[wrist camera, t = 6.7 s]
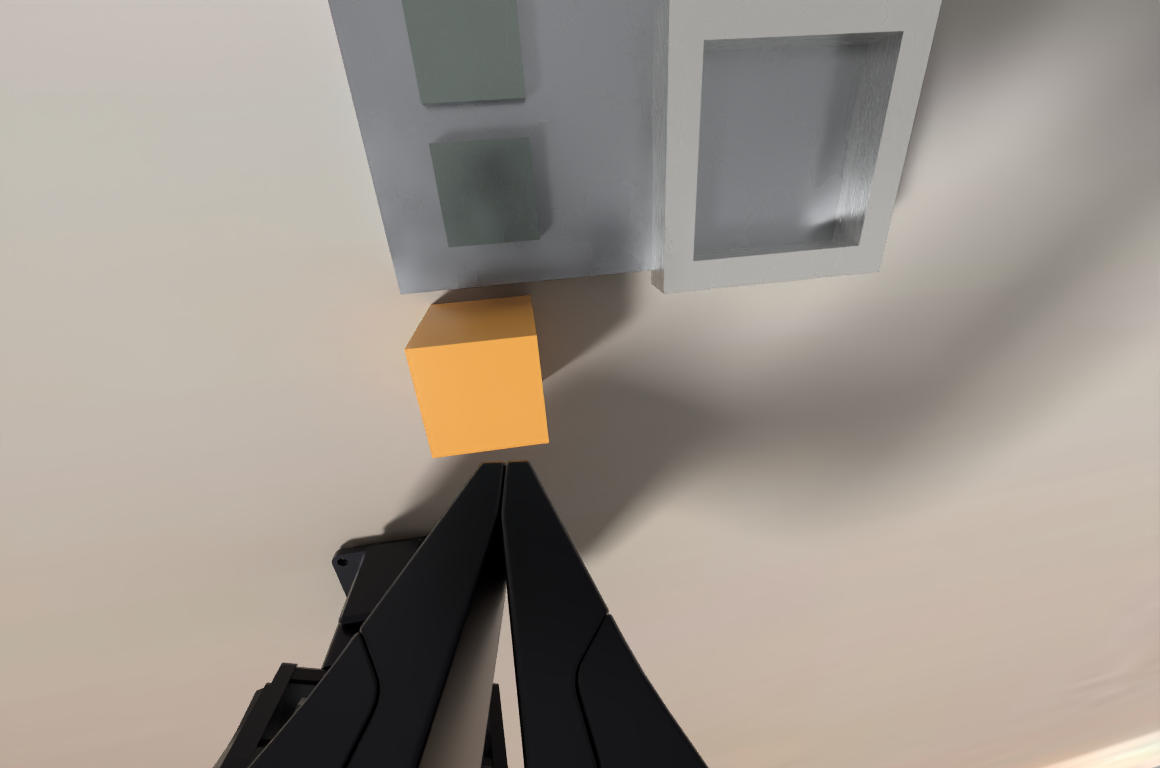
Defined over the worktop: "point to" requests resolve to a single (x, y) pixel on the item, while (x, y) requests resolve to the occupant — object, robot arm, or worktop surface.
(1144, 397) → the worktop surface
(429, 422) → the orange cube
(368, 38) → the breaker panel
